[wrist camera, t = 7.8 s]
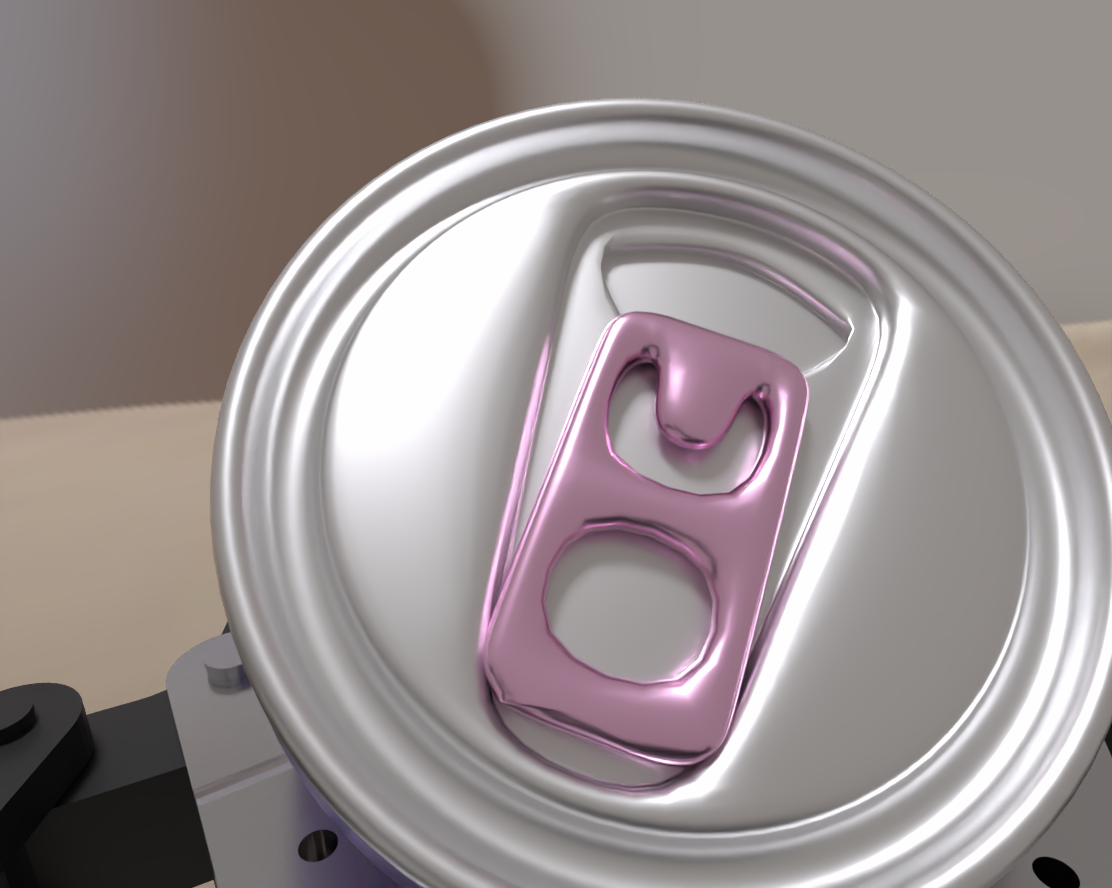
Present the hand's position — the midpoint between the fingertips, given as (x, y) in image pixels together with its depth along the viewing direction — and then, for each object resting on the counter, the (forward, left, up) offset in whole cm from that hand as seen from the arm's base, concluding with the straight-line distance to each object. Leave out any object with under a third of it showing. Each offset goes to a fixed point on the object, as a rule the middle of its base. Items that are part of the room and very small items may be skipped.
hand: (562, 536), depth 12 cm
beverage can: (0, -2, -7) cm, 8 cm away
